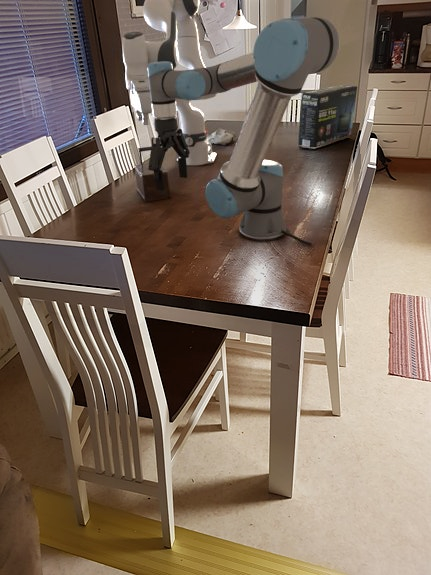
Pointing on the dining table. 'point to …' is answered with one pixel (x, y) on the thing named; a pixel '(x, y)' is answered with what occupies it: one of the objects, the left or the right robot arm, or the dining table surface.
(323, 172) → the dining table surface
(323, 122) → the router box
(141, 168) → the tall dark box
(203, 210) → the dining table surface
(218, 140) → the fossil
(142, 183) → the chest
